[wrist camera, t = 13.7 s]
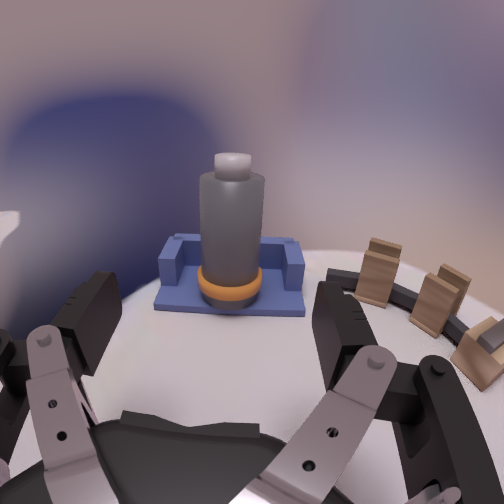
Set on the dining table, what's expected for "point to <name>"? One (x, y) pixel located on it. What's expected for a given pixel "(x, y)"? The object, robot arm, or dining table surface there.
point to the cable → (398, 299)
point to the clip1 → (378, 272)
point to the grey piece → (230, 232)
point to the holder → (268, 297)
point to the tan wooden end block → (482, 353)
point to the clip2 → (439, 299)
